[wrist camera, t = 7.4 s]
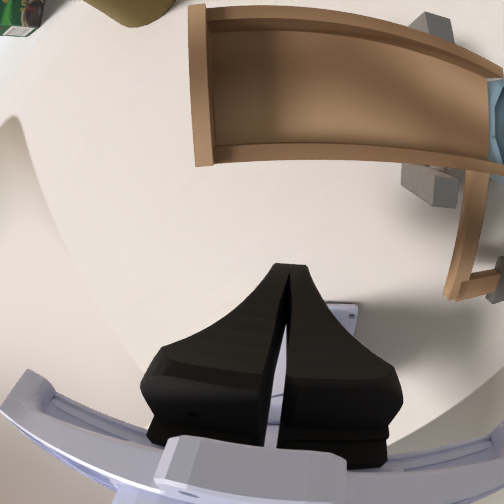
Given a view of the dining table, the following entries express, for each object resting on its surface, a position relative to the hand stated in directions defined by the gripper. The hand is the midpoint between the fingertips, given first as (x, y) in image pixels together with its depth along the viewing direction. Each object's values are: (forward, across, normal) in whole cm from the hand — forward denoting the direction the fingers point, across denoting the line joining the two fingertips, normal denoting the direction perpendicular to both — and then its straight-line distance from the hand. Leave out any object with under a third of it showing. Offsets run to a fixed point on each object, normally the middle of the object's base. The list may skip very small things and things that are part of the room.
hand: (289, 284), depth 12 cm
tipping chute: (+5, -7, -3) cm, 10 cm away
